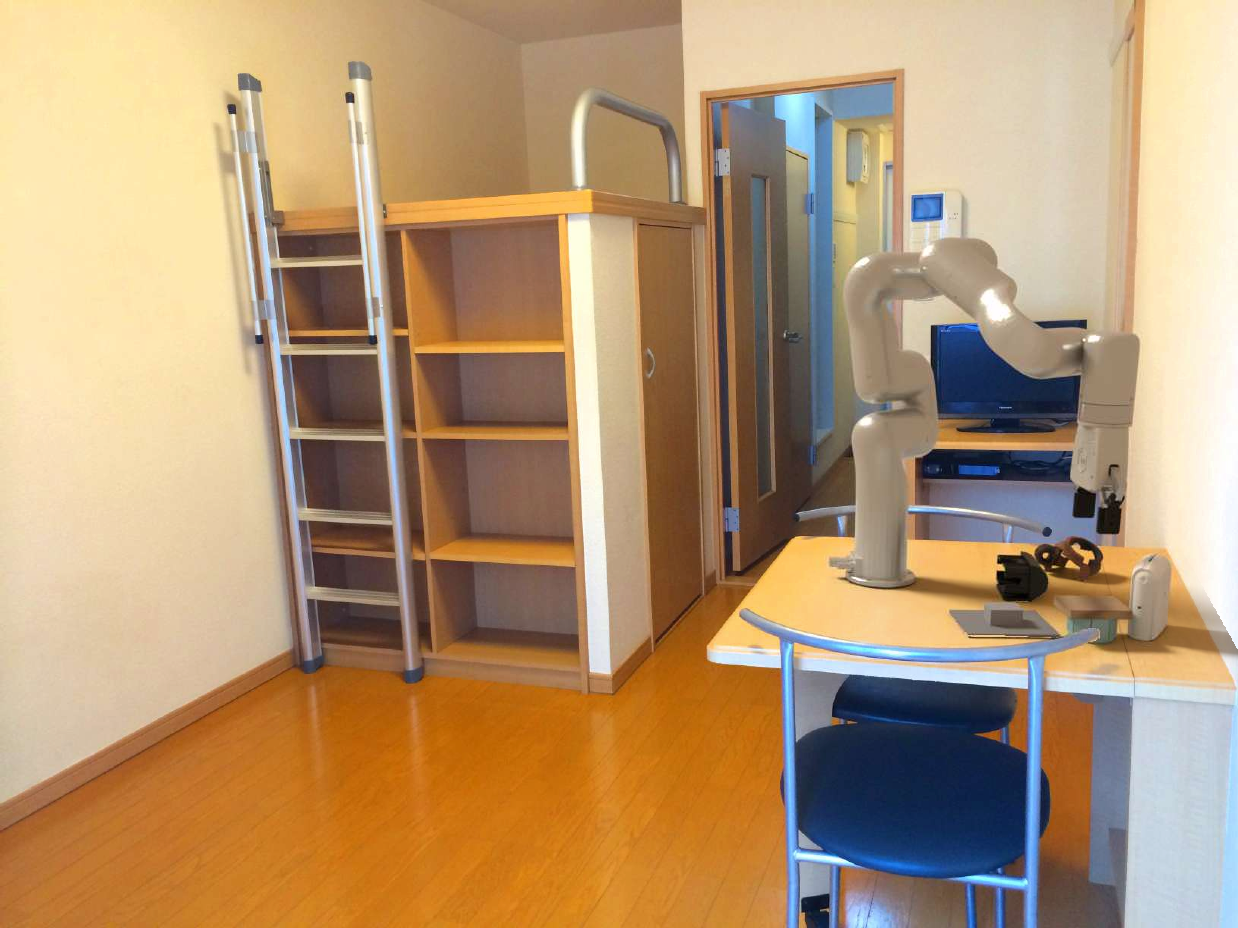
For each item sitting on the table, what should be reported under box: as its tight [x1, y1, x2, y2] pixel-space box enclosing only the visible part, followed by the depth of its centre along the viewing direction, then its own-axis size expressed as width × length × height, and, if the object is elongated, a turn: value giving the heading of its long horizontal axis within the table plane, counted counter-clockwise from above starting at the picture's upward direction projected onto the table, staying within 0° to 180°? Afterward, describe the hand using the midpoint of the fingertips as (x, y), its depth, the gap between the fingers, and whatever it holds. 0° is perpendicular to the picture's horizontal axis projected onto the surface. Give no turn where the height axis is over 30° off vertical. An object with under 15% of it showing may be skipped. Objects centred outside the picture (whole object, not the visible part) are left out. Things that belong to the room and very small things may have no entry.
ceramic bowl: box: [1066, 615, 1119, 645], centre depth 158 cm, size 7×7×4 cm
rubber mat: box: [948, 601, 1061, 639], centre depth 164 cm, size 14×12×3 cm
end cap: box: [995, 550, 1050, 603], centre depth 179 cm, size 10×7×7 cm
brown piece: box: [1033, 535, 1104, 582], centre depth 191 cm, size 12×10×8 cm
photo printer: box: [1127, 553, 1172, 642], centre depth 159 cm, size 10×4×12 cm, turn 140°
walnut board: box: [1053, 595, 1133, 621], centre depth 157 cm, size 9×7×1 cm
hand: (1094, 525), depth 155 cm, fingers open, 9 cm apart
